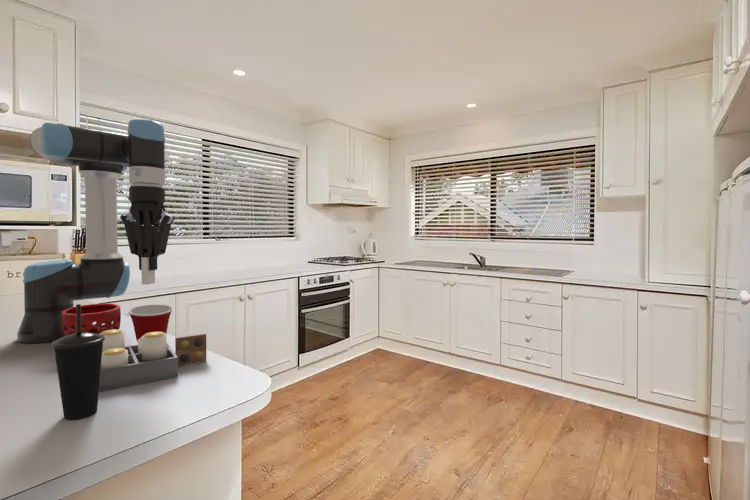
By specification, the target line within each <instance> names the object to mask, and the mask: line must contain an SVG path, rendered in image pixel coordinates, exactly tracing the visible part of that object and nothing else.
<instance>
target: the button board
mask: <svg viewBox="0 0 750 500" xmlns="http://www.w3.org/2000/svg"><path fill="white" fill-rule="evenodd" d="M125 349H126V350H128V365H122V366H116V367H110V368H104V369H101V371H100V382H99V391H100V392H104V391H110V390H114V389H120V388H124V387H130V386H135V385H143V384H146V383H151V382H159V381H161V380H167V379H172V378H179V366H178V357H177V355H176V354H175V350H173V349H172V348H171V346H170V345H169V344H168V343H167V356H166V357H165V358H162V359H159V360H151V361H147V360H143V359H142V353H138V344H135V345H128V346H125Z"/></svg>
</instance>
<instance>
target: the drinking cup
mask: <svg viewBox="0 0 750 500" xmlns="http://www.w3.org/2000/svg"><path fill="white" fill-rule="evenodd" d="M81 306H82V304H80V303H79V304H76V305H75V307H76V323H77V333H72V334H69V335H66V336H64V337H62V338H60V339H58V340H55V341H52V343H51V347H52V348H53V349H54V355H55V364H56V370H57V377H58V384H59V391H60V398H61V407H62V412H63V419H65V420H67V421H75V420H82V419H85V418H89V417H92V416H93V415H95V414H96V413H97V412H98V403H99V394H100V393H99V382H100V371H101V359H102V348H103V341H104V340H105V336H103V335H99V334H96V333H91V332H81Z"/></svg>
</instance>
